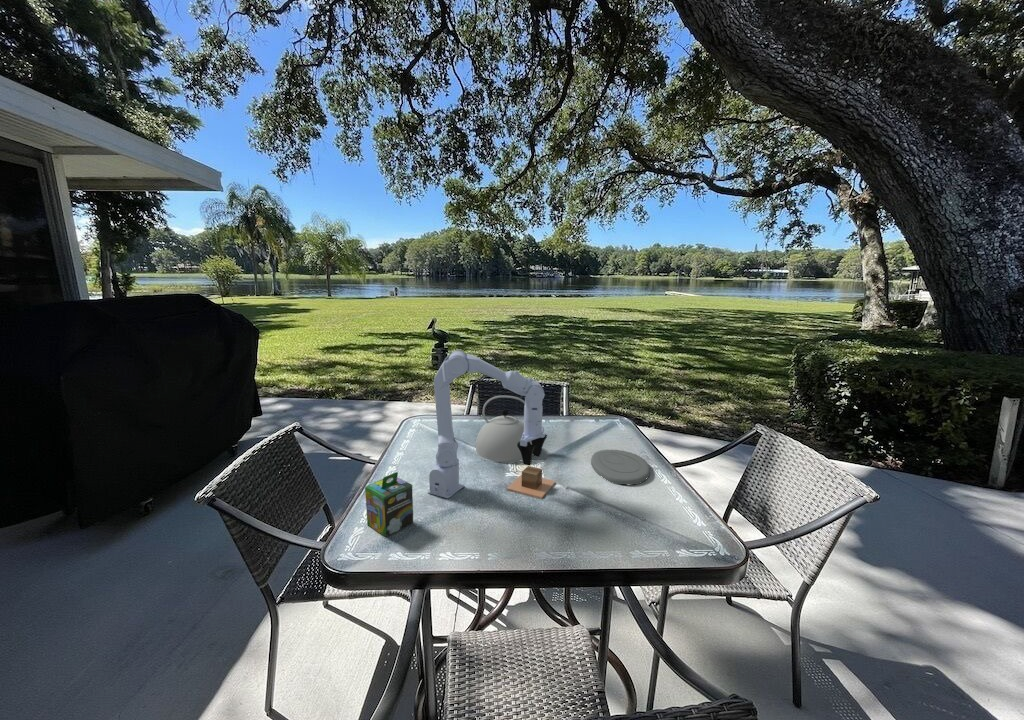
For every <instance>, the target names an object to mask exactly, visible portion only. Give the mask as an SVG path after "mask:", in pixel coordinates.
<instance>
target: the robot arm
mask: <svg viewBox="0 0 1024 720" xmlns="http://www.w3.org/2000/svg"><path fill="white" fill-rule="evenodd" d="M467 371H468V374H474V373H481V374H483V375H485V376H487V377H490V378H492V379H494V380H495V381H496V380H497V381H499V382H501V385H502V387H503V389H506V390H509V391H511V392H512V393H514V394H517V395H518V396H519V395H520V396H523V397H524V401H525V404H524V406H523V407H524V408H523V422H524V432H523V435H522V438H521V439H520V441H519V442H518V443H517V447H518V448H519V450H520V452H521V455H522V459H523V461H522V462H523V465H525V466H530V465H531V463H532V459H533V457H540V456H541V453H542V451H543V445H544V443H545V441H546V439H547V438H548V435H547V434H546V433H545V426H543V409H544V408H543V407H544V406H543V400H544V398H545V395H546V394H545V390H544V388H543V387H542V385H541V384H540V383H539V382H538V381H537V380H535V379H533V378H531V377H529V378H528V377H525V376H523V375H522V374H520V372H519V371H518V370H514V371H513V370H508V371H504V370H502V369H500V368H498V367H496V366H495V365H493V364H491V363H488V362H487V361H485V360H483V359H481V358H480V357H478V356H475V355H472V354H470V353H466V352H464V351H462V350H455V351H452V352H451V353H449V354H448V355H447V356H446V357H445V358H444V360H443V362H442V363H441V365H440V367H439V369H438V370H437V372H436V374H435V376H434V378H433V390H434V391H433V392H434V401H435V402H434V404H435V411H436V415H435V416H436V424H437V435H438V436H437V445H438V446H437V447H438V448H437V451H436V454H435V465H434V467H433V469H431V471H430V472H429V475H428V477H429V479H428V480H429V489H428V490H427V493H428V494H430V495H433V496H437V497H442V498H445V499H449V498H451V497H452V496H454V495H455V494H456V493H457V492H459V491H460V490H462V488H464V487H465V484H464V483H460V460H459V458H458V456H457V454H458V447H459V445H458V444H459V443H458V442H457V441H456V438H455V432H454V426H453V425H454V424H453V416H452V415H453V414H452V411H453V410H452V401H451V400H452V399H451V390H450V384H451V383H453V382H454V381H455V379H457V378H459V377H461V376H463V375H464V374H466V373H467ZM530 441H531V442H532V445H531V443H530ZM532 454H533V455H532Z"/></svg>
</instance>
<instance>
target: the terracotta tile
mask: <svg viewBox="0 0 1024 720" xmlns="http://www.w3.org/2000/svg"><path fill="white" fill-rule="evenodd" d="M555 484H556V480H551V479H547V478H543V477H542V484H541V485H540V486H539V487H538V488H537V489H536V490H535V489H530V488H526V487H522V474H521V475H519V476H518V477H517V478H516V479H515V480H514V481H513V482H512V483H511V484H509V486H507V487H506V491H509V492H513V493H517V494H521V495H525V496H528V497H532V498H536V499H540V500H542V499H543V498H544V497H545V495H546V494H548V492H550V490H551V489H552V488H553V486H554V485H555Z"/></svg>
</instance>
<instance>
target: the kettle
mask: <svg viewBox="0 0 1024 720" xmlns="http://www.w3.org/2000/svg"><path fill="white" fill-rule="evenodd" d="M501 398H502V399H503V398H504V399H514V400H517V401H520V402H521V403H523V404H524V405H525V399H522V398H520V397H517V396H513V395H496V396H493V397H491V398H489V399H487V401H485V403H484V404H483V407H482V418H483V419H484V420H485V422H486V423H484V424H483V426H482V427H481V428H480V430H479V432H478V434H477V437H476V440H475V442H476V443H475V453H476V452H477V454H478V455H479V456H480V457H482V458H484V459H487V460H490V461H489V462H491V461H494V462H493V463H497V462H501V463H500V464H509V463H510V464H512V463H511V462H513V463H518V462H517V461H519V462H521V461H520V460H523V459H522V455H521V452H520V450H519V448H518V447H517V443H518V442H519V441H520V439H521V438H522V435H523V432H524V421H522V420H520V419H518V418H517V417H514V416H511V415H509V410H508V409H506V408H503V409H502V410H501V414H502V415H499V416H496V417H495V416H494V417H493V418H491V419H489V420H488V419H487V417H486V414H485V409H486V407H487V405H488V404H489V403H490V402H491V401H493V400H495V399H501ZM530 443H531V445H532V442H531V441H530ZM477 454H476V455H477ZM478 455H477V456H478ZM479 456H478V457H479ZM480 457H479V458H480ZM482 458H481V459H482ZM484 459H483V460H484ZM487 460H486V461H487Z"/></svg>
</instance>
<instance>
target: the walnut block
mask: <svg viewBox="0 0 1024 720" xmlns="http://www.w3.org/2000/svg"><path fill="white" fill-rule="evenodd" d="M521 475H522V487H526V488H530V489H535V490H536V489H537V488H538V487H539V486H540V485H541V484H542V478H543V468H540V467H534V466H529V465H527V466H526V467H525V468H524V469H523V470H522V471H521Z"/></svg>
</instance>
